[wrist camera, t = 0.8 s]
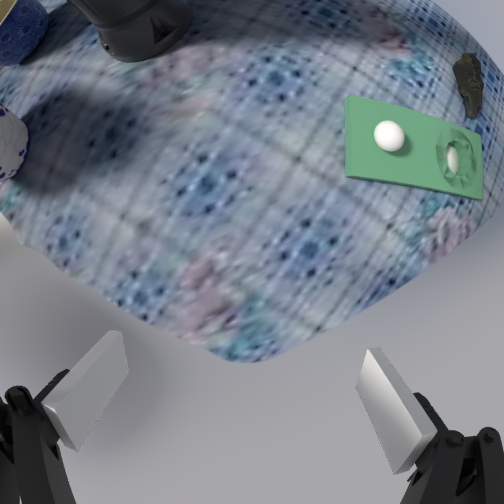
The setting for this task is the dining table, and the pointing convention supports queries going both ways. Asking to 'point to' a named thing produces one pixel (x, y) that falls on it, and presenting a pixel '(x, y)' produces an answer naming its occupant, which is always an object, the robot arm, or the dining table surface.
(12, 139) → the vase
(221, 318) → the dining table surface
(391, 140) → the ball
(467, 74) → the stone
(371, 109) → the green rectangular board
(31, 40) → the planter
